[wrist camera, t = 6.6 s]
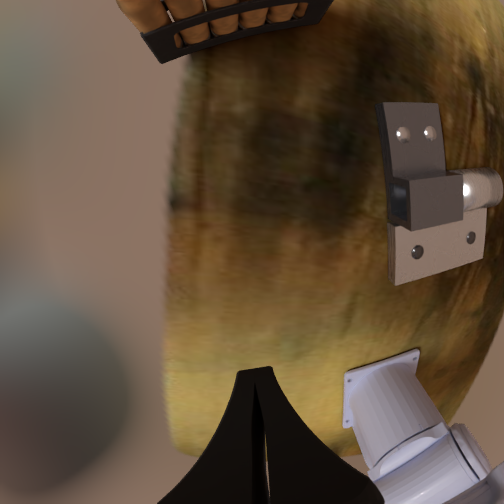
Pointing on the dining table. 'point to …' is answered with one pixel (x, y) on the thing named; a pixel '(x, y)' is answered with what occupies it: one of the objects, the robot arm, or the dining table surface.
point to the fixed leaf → (445, 233)
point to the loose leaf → (417, 167)
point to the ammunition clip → (214, 21)
